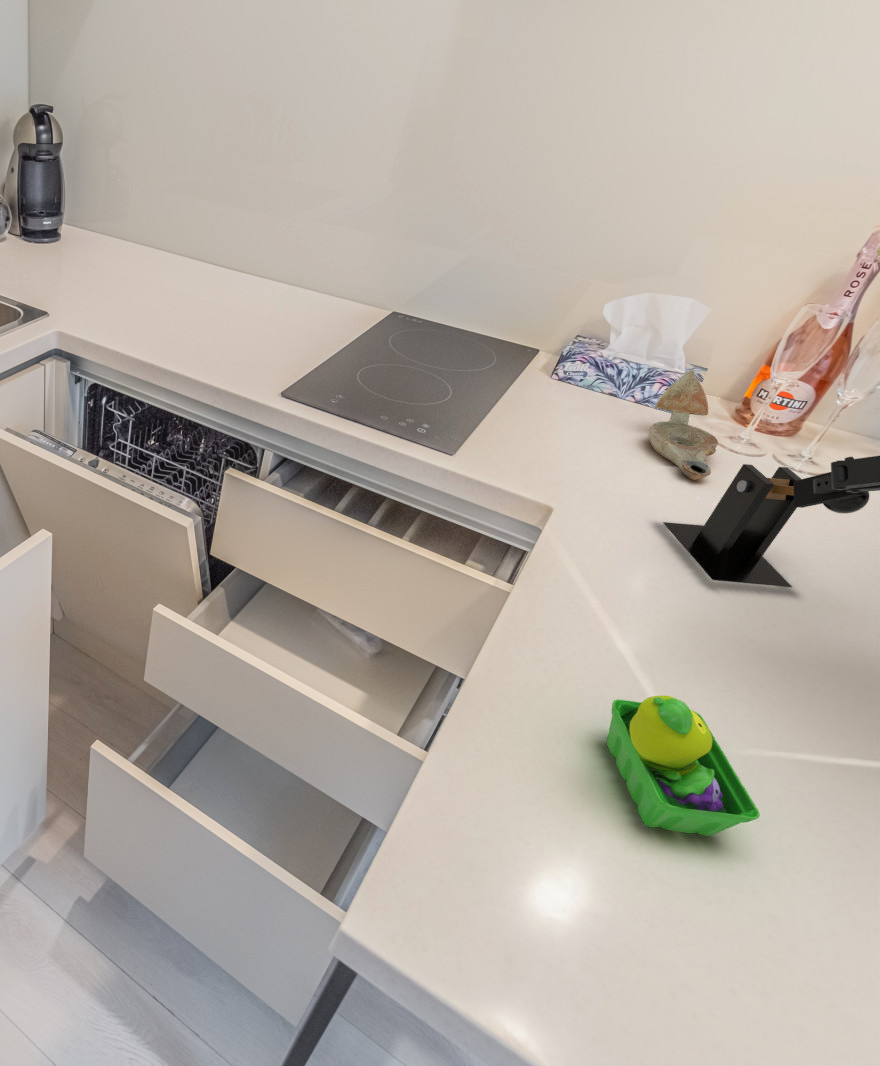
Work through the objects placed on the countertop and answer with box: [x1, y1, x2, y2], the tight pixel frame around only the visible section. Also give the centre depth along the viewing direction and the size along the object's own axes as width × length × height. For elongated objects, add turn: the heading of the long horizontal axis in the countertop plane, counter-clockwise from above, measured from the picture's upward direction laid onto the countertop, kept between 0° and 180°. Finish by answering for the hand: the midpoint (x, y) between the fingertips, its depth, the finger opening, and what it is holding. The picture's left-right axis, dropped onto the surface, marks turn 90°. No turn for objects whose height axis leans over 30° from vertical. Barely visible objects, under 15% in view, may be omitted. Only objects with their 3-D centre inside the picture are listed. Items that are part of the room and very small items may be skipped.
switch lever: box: [765, 477, 870, 514], centre depth 84 cm, size 13×4×4 cm, turn 173°
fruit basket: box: [606, 694, 760, 837], centre depth 65 cm, size 11×9×11 cm
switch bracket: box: [662, 463, 802, 588], centre depth 92 cm, size 12×9×13 cm
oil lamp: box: [648, 370, 719, 481], centre depth 114 cm, size 9×21×10 cm, turn 157°
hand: (868, 500), depth 77 cm, fingers open, 13 cm apart
